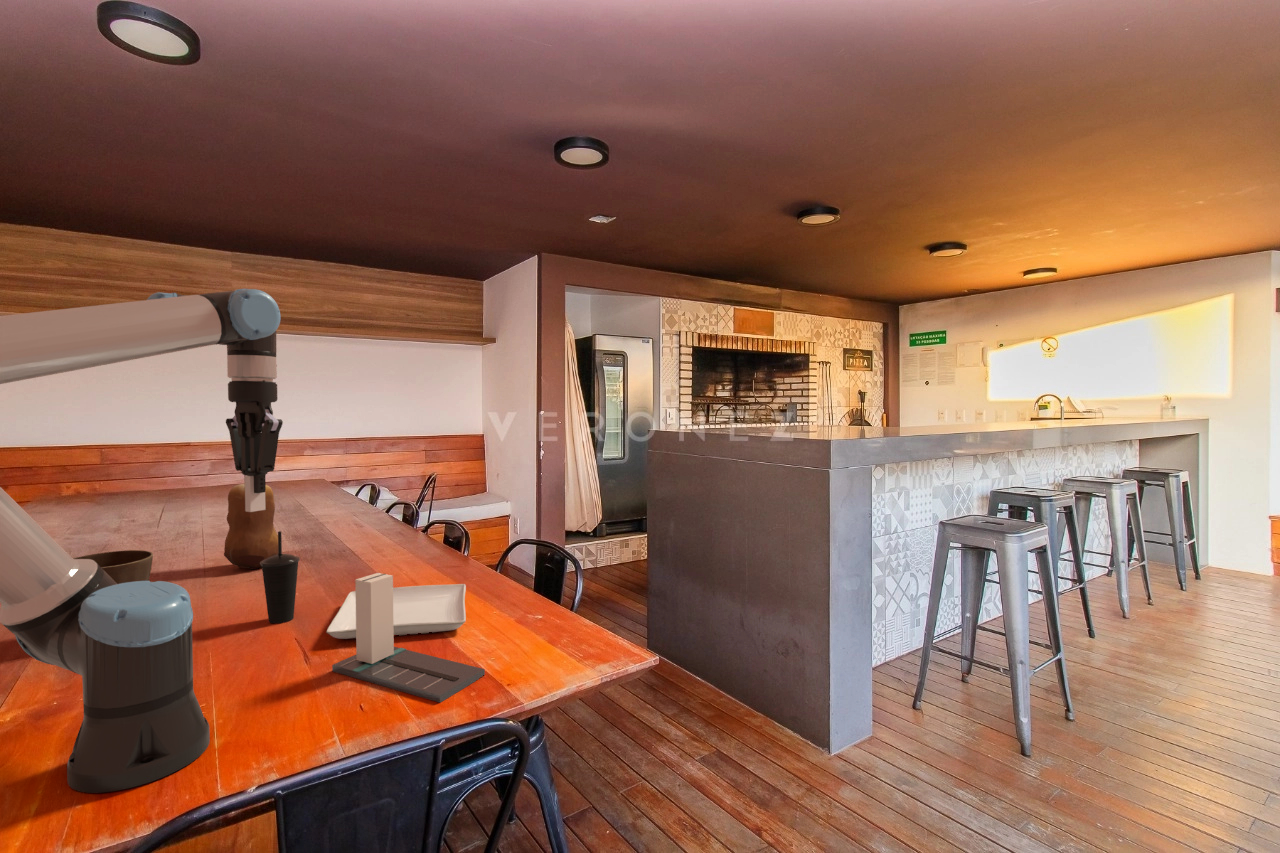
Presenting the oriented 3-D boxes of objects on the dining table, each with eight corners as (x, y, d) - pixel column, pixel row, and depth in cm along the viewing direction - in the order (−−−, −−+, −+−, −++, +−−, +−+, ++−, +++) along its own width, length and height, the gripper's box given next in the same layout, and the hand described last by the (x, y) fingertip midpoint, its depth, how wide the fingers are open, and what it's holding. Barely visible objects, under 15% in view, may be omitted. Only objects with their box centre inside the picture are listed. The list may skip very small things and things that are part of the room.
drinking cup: (282, 627, 132) (281, 536, 132) (252, 624, 134) (250, 534, 133) (308, 615, 140) (307, 528, 139) (280, 612, 141) (278, 527, 141)
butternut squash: (276, 559, 189) (274, 479, 188) (284, 568, 179) (282, 483, 178) (222, 566, 180) (220, 482, 179) (227, 576, 170) (225, 487, 169)
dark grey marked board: (484, 675, 110) (484, 668, 110) (440, 702, 100) (439, 694, 100) (381, 649, 121) (381, 642, 121) (332, 671, 111) (332, 664, 111)
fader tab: (393, 653, 115) (392, 574, 115) (371, 663, 111) (370, 582, 110) (378, 649, 117) (377, 572, 116) (356, 659, 113) (355, 579, 112)
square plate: (325, 649, 122) (324, 630, 122) (350, 605, 148) (350, 589, 148) (465, 636, 129) (465, 618, 129) (466, 596, 155) (466, 581, 155)
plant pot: (172, 624, 134) (170, 552, 133) (95, 651, 119) (93, 571, 119) (122, 618, 138) (120, 548, 137) (42, 643, 123) (39, 565, 123)
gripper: (296, 380, 110) (298, 510, 111) (251, 381, 116) (254, 504, 117) (254, 379, 103) (257, 517, 104) (209, 380, 109) (212, 510, 110)
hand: (255, 510), depth 111 cm, fingers closed
